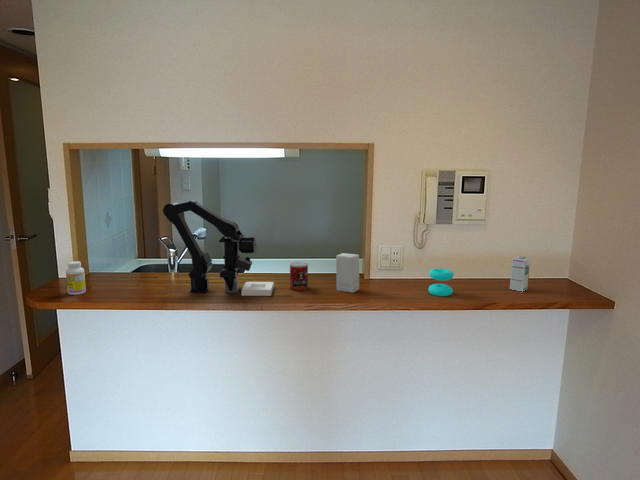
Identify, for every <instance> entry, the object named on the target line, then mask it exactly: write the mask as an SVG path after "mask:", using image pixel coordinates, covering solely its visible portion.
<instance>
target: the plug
mask: <svg viewBox="0 0 640 480" xmlns="http://www.w3.org/2000/svg"><path fill="white" fill-rule="evenodd" d="M239 282H240V280H239V278H236V279H234V284H233V290H229V288H228V286H227V284H226V282H225V281H224V291H225V292H226V293H233V294H234V293H235V294H237V293H238V292H239V290H240V288H239V287H240V285H239V284H240V283H239Z"/></svg>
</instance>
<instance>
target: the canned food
mask: <svg viewBox="0 0 640 480" xmlns="http://www.w3.org/2000/svg"><path fill="white" fill-rule="evenodd" d="M308 267H309V264H308V263H307V262H303V261H294V262H291V263H289V287H290V290H291V291H295V292H296V291H297V292H300V291H301V292H302V291H306V290H308V284H309V283H308V281H309V279H308V278H309V275H308V274H309V273H308V272H309V268H308Z"/></svg>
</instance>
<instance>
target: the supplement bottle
mask: <svg viewBox="0 0 640 480" xmlns="http://www.w3.org/2000/svg"><path fill="white" fill-rule="evenodd" d="M67 266H68V268H67V269H66V271H65V279H66V287H67V288H66V290H67V294H68V295H71V296H77V295H81V294H82V295H83V294H85V293H86V291H87V287H86V286H87V285H86V276H85V269H84V268H83V267H81V266H82V262H81V261H78V260H76V261H74V260H73V261H69V262H67Z"/></svg>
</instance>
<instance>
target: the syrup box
mask: <svg viewBox="0 0 640 480" xmlns="http://www.w3.org/2000/svg"><path fill="white" fill-rule="evenodd" d="M530 262H531V258H530V257H526V256H517V255H516V256H515V257H512V258H511V267H510V281H509V282H510V283H509V290H510V289H512V290H517V291H522V292H523V291H524V292H526V291H528V290H529V289H528V288H529V276H530V264H531V263H530ZM527 289H528V290H527ZM512 290H511V291H512ZM525 290H526V291H525ZM517 291H516V292H517ZM522 292H521V293H522ZM524 292H523V293H524Z"/></svg>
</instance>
